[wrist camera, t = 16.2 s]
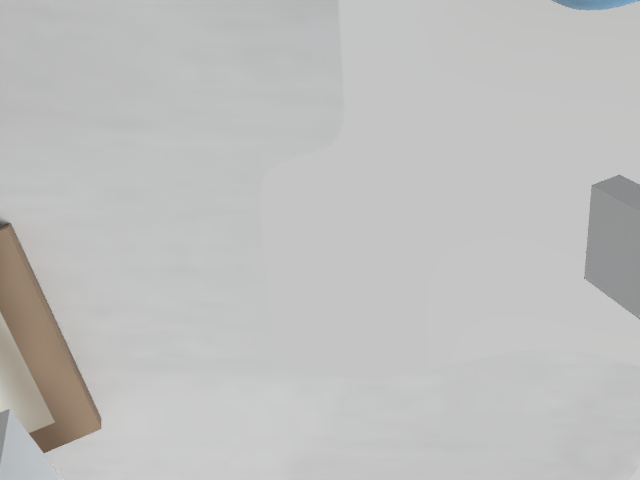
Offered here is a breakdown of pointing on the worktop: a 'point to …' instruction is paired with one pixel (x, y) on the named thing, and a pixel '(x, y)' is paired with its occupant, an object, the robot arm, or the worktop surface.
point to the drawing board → (37, 358)
